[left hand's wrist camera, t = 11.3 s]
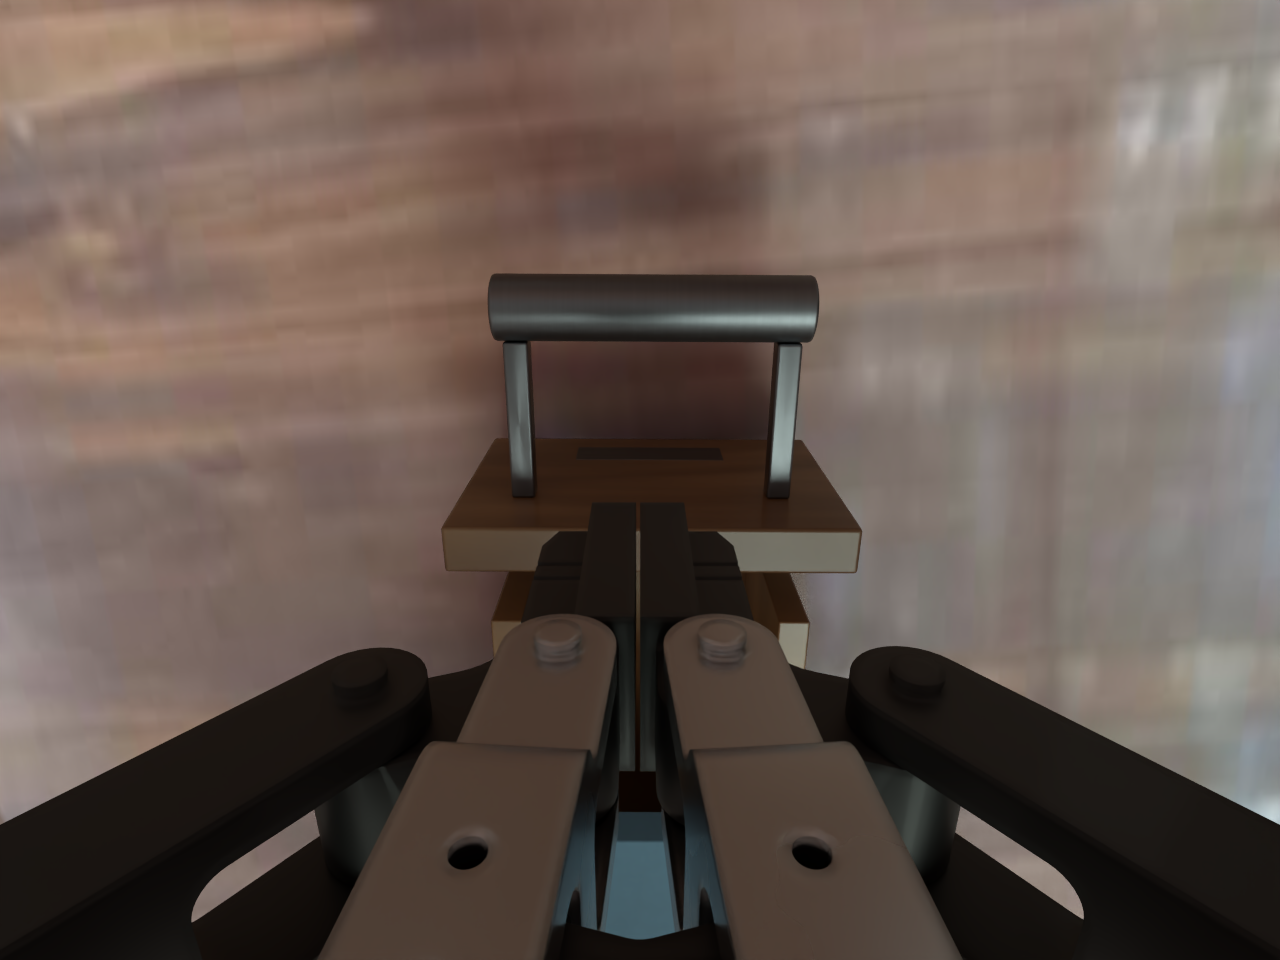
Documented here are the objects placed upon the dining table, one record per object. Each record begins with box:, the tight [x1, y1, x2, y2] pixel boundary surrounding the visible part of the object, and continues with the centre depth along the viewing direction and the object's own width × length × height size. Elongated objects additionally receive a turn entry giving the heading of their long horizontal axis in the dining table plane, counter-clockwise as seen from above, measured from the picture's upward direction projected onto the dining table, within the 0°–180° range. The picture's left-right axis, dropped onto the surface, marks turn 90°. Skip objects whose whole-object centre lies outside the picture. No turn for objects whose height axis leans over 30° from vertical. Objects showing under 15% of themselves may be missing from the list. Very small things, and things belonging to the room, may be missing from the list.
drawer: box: [441, 274, 862, 812], centre depth 23 cm, size 25×10×7 cm, turn 0°
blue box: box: [605, 812, 675, 939], centre depth 27 cm, size 21×11×9 cm, turn 0°
